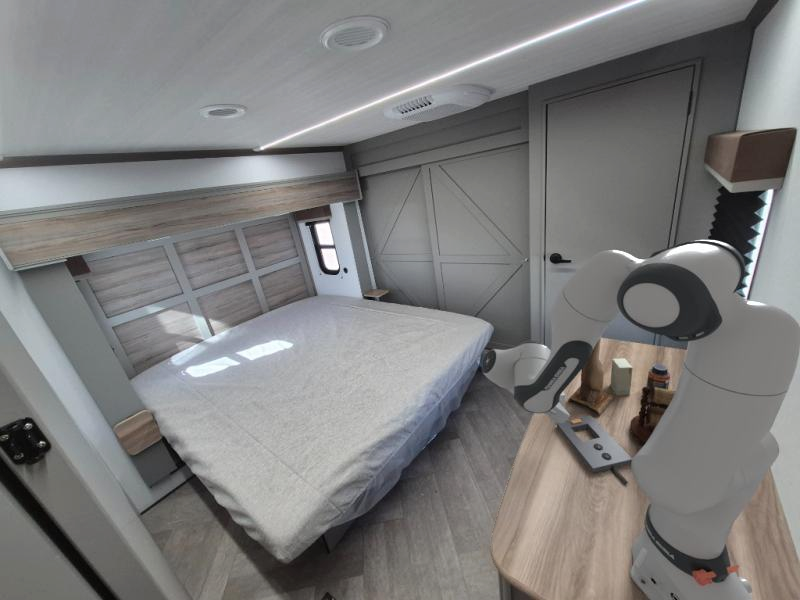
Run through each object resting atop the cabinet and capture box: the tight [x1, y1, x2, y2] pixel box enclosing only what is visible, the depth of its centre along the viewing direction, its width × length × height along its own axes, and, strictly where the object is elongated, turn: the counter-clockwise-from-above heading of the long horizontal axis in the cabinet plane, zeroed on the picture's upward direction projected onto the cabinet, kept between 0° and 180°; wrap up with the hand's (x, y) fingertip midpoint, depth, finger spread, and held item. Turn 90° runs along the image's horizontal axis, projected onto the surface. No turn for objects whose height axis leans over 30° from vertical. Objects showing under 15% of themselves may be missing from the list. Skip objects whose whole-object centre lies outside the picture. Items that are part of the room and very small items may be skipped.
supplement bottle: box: [645, 363, 671, 395], centre depth 110 cm, size 6×6×11 cm
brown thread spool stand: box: [629, 382, 676, 446], centre depth 92 cm, size 15×15×20 cm
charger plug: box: [548, 391, 566, 424], centre depth 94 cm, size 4×4×12 cm
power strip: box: [556, 414, 633, 485], centre depth 95 cm, size 23×12×3 cm, turn 6°
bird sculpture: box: [567, 334, 613, 417], centre depth 108 cm, size 11×12×32 cm
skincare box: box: [609, 357, 634, 396], centre depth 114 cm, size 6×4×12 cm
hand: (557, 403), depth 94 cm, fingers closed on charger plug, 3 cm apart
